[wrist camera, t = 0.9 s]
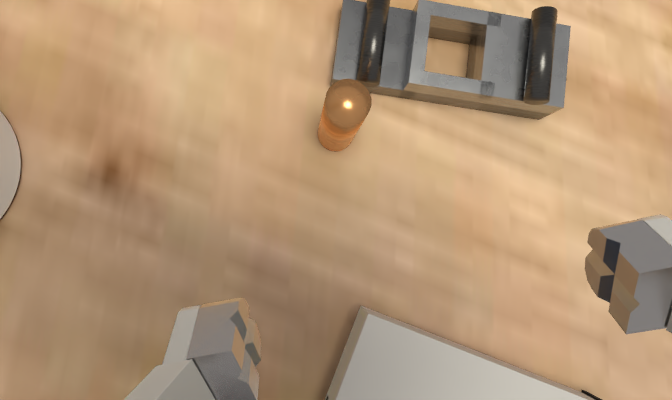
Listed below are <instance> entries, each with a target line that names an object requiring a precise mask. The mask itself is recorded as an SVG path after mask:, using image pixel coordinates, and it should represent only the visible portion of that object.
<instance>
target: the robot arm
mask: <svg viewBox="0 0 672 400" xmlns="http://www.w3.org/2000/svg"><path fill="white" fill-rule="evenodd" d="M20 169H21V159H20V150H19V146H18V142H17V139H16V136H15V134H14V131H13V129H12V127H11V125H10V124H9V122H8V120H7V119H6V118H5V116H4V115H3V114H2V113H1V111H0V219H1V217H2V216H3V215H4V213H5V212H6V210H7V209H8V207H9V205H10V204H11V202H12V200H13V197H14V195H15V192H16V190H17V186H18V182H19V177H20ZM588 244H589V245H590V246H591V247H592V249H593V250H592V251H591V252H590V253H589V254H588V255H587V257H586V259H585V272H586V276H587V280H588V282H589V284H590V286H591V288H592V290H593V291H594V293H595V294H596V295H597V297H599V298H601V299H603V300H605V301H607V302H609V303H610V306H609V313H610V314H611V315H612V317H613V318H614V319H615V321H616V322H617V323H618V324H619V326H620V327H621V328H622V330H623V331H624V332H625V334H631V333H637V332H644V331H650V330H657V329H663V328H667V329H666V330H667V331H669V332H671V333H672V220H670V219H669V218H668V217H666V216H664V215H661V214H660V215H655V216H650V217H646V218H641V219H637V220H633V221H628V222H623V223H618V224H613V225H608V226H603V227H598V228H593V229H592V230H591V231H590V233H589V236H588ZM249 310H250V308H249V306H248V304H247V301H246V299H245V298H242V297H241V298H235V299H229V300H223V301H217V302H212V303H206V304H202V305H197V306H191V307H185V308H182V309H181V310H180V311H179V312H178V314H177V317H176V321H175V324H174V327H173V330H172V334H171V337H170V340H169V344H168V347H167V350H166V354H165V357H164V360H163V363H162V365H158V366H155V368H154V369H153V370H152V371H151V372H150V373H149V374H148V375H147V376H146V377H145V378H144V379H143V380H142V381H141V382H140V383H139V384H138V385H137V386H136V387H135V388H134V389H133V391H132V392H131V393H130V394H129V395H128V396H127V397H126V398H125V399H124V400H257V398H258V387H259V377H260V376H259V374H258V372H257V369H256V366H257V364H258V363H259V362H260V360H261V352H262V347H261V337H260V333H259V329H258V326H257V324H256V322H255V321H254V320H253V319H251V318H249Z"/></svg>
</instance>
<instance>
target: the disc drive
mask: <svg viewBox="0 0 672 400" xmlns="http://www.w3.org/2000/svg"><path fill="white" fill-rule="evenodd" d="M325 400H602V399H600V398H598V397H596V396H594V395H592V394H590V393H589V392H586V391H584V390H582V392H580V391H577V390H575V389H572V388H569V387H567V386H564V385H562V384H559V383H557V382H554V381H552V380H549V379H547V378H544V377H541V376H539V375H536V374H534V373H531V372H529V371H526V370H524V369H521V368H519V367H516V366H514V365H511V364H508V363H506V362H503V361H501V360H498V359H496V358H493V357H491V356H488V355H486V354H483V353H481V352H478V351H475V350H473V349H470V348H468V347H465V346H463V345H460V344H458V343H455V342H453V341H450V340H448V339H445V338H442V337H440V336H437V335H435V334H432V333H430V332H427V331H425V330H422V329H420V328H417V327H415V326H412V325H409V324H407V323H404V322H402V321H399V320H397V319H394V318H392V317H389V316H387V315H384V314H382V313H379V312H376V311H374V310H371V309H369V308H366V307H364V306H360V309H359V311H358V314H357V317H356V319H355V322H354V324H353V327H352V330H351V332H350V335H349V337H348V340H347V343H346V345H345V348H344V351H343V353H342V356H341V358H340V361H339V364H338V366H337V369H336V372H335V374H334V377H333V379H332V382H331V385H330V387H329V390H328V393H327V395H326V398H325Z"/></svg>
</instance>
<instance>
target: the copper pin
mask: <svg viewBox="0 0 672 400" xmlns="http://www.w3.org/2000/svg"><path fill="white" fill-rule="evenodd" d="M370 108H371V96H370V93H369V91H368V90H367V88H366V87H365V86H364V85H363V84H362V83H360V82H359V81H357V80H353V79H342V80H339V81H337V82H335V83H334V84H333V85H332V86H331V87H330V88H329V89H328V91H327V94H326V98H325V102H324V107H323V111H322V115H321V120H320V124H319V128H318V138H319V141H320V143H321V144H322V145H323V146H324V147H325V148H326V149H328V150H331V151H341V150H343V149H345V148H347V147H348V146H349V144H350V143H351V141H352V140H353V138H354V136H355V135H356V133H357V131H358V130H359V128H360V126H361V125H362V123H363V121H364V119H365V118H366V116H367V114H368V113H369V111H370Z"/></svg>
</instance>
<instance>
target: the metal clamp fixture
mask: <svg viewBox="0 0 672 400" xmlns="http://www.w3.org/2000/svg"><path fill="white" fill-rule="evenodd" d="M389 5H390V0H367V3H366V2H360V1H355V0H343V3H342V8H341V15H340V22H339V29H338V37H337V44H336V51H335V59H334V66H333V73H332V81H331V86H332V85H333V84H334V83H335V82H337V81H339V80H342V79H353V80H357V81H359V82H360V83H362V84H363V85H364V86H365V87H366V88H367V90H368V91H369V93H375V94H382V95H388V96H394V97H400V98H407V99H413V100H419V101H425V102H432V103H438V104H444V105H451V106H457V107H463V108H469V109H476V110H482V111H488V112H495V113H501V114H507V115H513V116H520V117H526V118H532V119H538V120H539V119H541V118H543V117H546V116H548V115H550V114H552V113H554V112H556V111H558V110H560V109H562V108H564V97H565V86H566V74H567V62H568V51H569V39H570V27H571V26H567V25H561V24H556V22H557V9H556V8H554V7H549V6H545V7H539V8H537V9H535V10H533V11H532V16H531V19H528V18H522V17H516V16H511V15H505V14H499V13H494V12H488V11H483V10H477V9H471V8H466V7H460V6H454V5H449V4H443V3H437V2H432V1H426V0H418V2H417V3H416V5H415V7H414V9H413V11H412V10H406V9H400V8H395V7H389ZM428 37H431V38H436V39H442V40H448V41H454V42H460V43H466V44H470V45H469V54H468V63H467V73H466V78H463V77H457V76H451V75H445V74H439V73H432V72H426V71H424V69H425V61H426V52H427V43H428Z"/></svg>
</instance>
